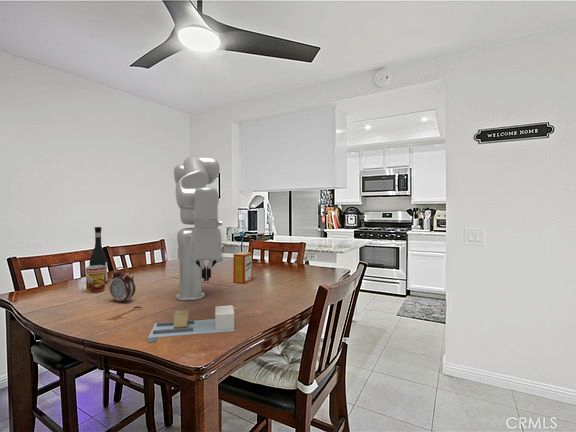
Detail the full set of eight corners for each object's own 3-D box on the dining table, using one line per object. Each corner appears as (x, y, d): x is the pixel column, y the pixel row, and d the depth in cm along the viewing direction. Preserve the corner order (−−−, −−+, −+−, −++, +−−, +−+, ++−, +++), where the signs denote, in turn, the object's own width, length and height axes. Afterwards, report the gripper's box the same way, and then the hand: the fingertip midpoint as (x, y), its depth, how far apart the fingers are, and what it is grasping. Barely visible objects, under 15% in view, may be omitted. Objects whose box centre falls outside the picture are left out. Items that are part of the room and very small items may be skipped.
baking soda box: (242, 279, 179) (242, 251, 179) (252, 280, 177) (252, 251, 177) (233, 282, 171) (233, 253, 170) (244, 284, 168) (244, 254, 168)
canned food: (87, 294, 146) (87, 268, 146) (84, 291, 152) (84, 266, 152) (107, 291, 152) (106, 266, 151) (103, 288, 158) (103, 264, 157)
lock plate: (155, 327, 108) (155, 320, 107) (232, 321, 113) (232, 315, 113) (147, 342, 96) (147, 334, 96) (234, 335, 102) (234, 327, 102)
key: (116, 323, 113) (147, 310, 127) (116, 320, 113) (148, 307, 127) (104, 319, 115) (136, 307, 129) (104, 317, 115) (136, 305, 129)
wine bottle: (103, 281, 172) (102, 226, 171) (110, 283, 168) (109, 227, 167) (87, 284, 166) (86, 227, 165) (93, 286, 161) (93, 227, 160)
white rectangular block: (215, 320, 111) (215, 306, 110) (232, 319, 112) (232, 305, 112) (215, 330, 102) (215, 315, 102) (234, 328, 103) (234, 313, 103)
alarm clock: (108, 301, 136) (108, 267, 135) (118, 298, 140) (117, 265, 140) (127, 304, 132) (127, 269, 132) (136, 301, 137) (136, 267, 136)
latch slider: (175, 324, 106) (175, 310, 106) (188, 324, 107) (188, 309, 106) (173, 330, 101) (173, 315, 101) (186, 329, 102) (186, 315, 102)
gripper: (228, 224, 110) (228, 276, 110) (183, 224, 106) (183, 279, 107) (229, 225, 102) (229, 281, 103) (181, 225, 99) (181, 284, 99)
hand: (206, 280), depth 105 cm, fingers closed
